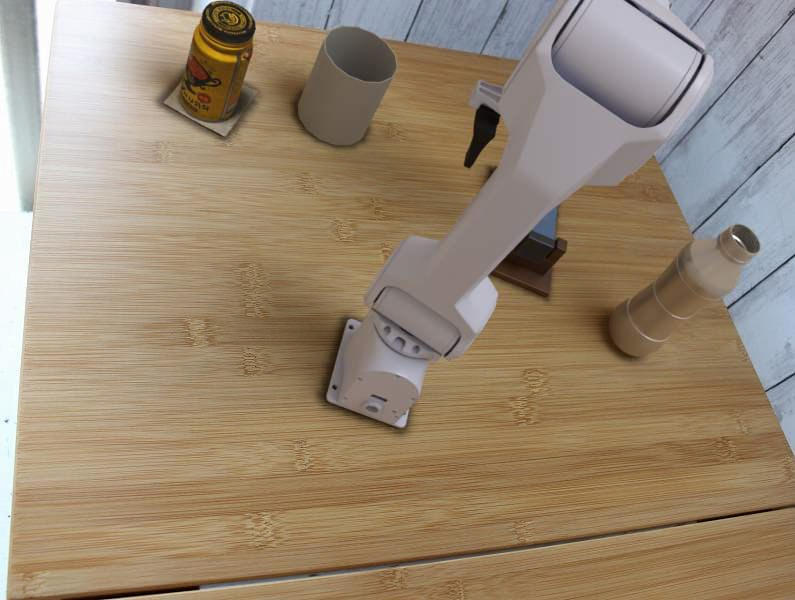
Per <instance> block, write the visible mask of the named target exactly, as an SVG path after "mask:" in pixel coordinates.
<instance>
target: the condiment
mask: <svg viewBox="0 0 795 600" xmlns="http://www.w3.org/2000/svg"><path fill="white" fill-rule="evenodd" d="M201 14H202V15H201V18H200V20H199V23H198V24H197V25H196V26H195V29H194V31H193V34H192V35H193V36H192V39H191V43H190V47H189V51H188V56H187V61H186V65H185V67H184V72H183V77H182V80H181V81H180V83H179V84H178V85H177V86H176V87H175V89H174V90H173V91H172V92H171V93H170V94H169V95H168V97H167V98H166V99H165V100H164V101H163V102H162V103H163V104H164V105H167V106H168V107H170V108H172V109H173V110H175V111H177V112H178V113H180V114H181V115H183V116H185V117H187V118H188V119H190V120H192V121H194V122H196V123H198V124H200V125H202V126H203V127H205V128H207V129H209V130H212V131H214V132H215V133H217V134H219V135H220V136H222V137H224V138H226V136H227V135H228V133H229V132H230V131H231V129H232V128H233V127H234V126H235V124H236V122H238V120H239V119H240V118H241V116H242V115H243V114H244V112H245V111H246V109H247V108H248V107H249V105H250V104H251V103H252V101H254V99H255V97H256V96H257V95H258V93H259V91H258V90H256V89H254V88H251V87H249V86H248V85H245V84H244V82H245V78H246V75H247V72H248V69H249V65H250V62H251V59H252V56H253V54H254V53H253V52H254V35H255V34H256V30H257V27H256V20H255V19H254V17H253V15H252V14H251V13H250V11H249V10H247V9H246V8H245V7H243V6H242V5H240V4H238V3H236V2H233V1H229V0H214V1H211V2H209V3H208V4H207V5H205V7H204V8H203V10H202V13H201Z"/></svg>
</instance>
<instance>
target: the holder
mask: <svg viewBox="0 0 795 600" xmlns="http://www.w3.org/2000/svg"><path fill="white" fill-rule="evenodd" d="M497 168H498V166H497V165H494V166H493V168H492V170H491V175H492V174H493V173H494V171H495V170H496V169H497ZM558 211H559V205H558V206H557V213H559V212H558ZM557 220H558V216H557V217H556V223H557ZM556 232H557V227H556V228H555V234H556ZM554 240H555V242H554V248H553V249H552V250H551V252H550V253H549V254H548V255H547V256H546V257H545V258H544V259H543V260H542V261H541V262H540V263H536V262H534V261H532V260H529V259H527V258H525V257H522V256H520V255H517V254H515V248H516V247H515V248H514V249H513V250H512V251H511V252H510V253H509V254H508V255H507V256H506V257H505V258H504V259H503V260H502V261H501V262H500V263H499V264H498V265H497V266H496V267H495V268H494V269H493V270H492V272H491V273H490V274H489V275H492V276H495V277H497V278H499V279H502V280H504V281H506V282H509V283H511V284H514V285H516V286H518V287H520V288H523V289H525V290H528V291H531V292H533V293H534V294H538V295H539V296H542V297H545V298H547V297H548V296H549V295H550V294H551V285H552V274H553V266H555V264H556V263H557V262H558V261H559V260H560V259H561V258H562V257H563V256H564V255H565V254H566V253H567V250H568V240H566V239H564V238H562V237H557V238H556V237H555V238H554Z"/></svg>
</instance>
